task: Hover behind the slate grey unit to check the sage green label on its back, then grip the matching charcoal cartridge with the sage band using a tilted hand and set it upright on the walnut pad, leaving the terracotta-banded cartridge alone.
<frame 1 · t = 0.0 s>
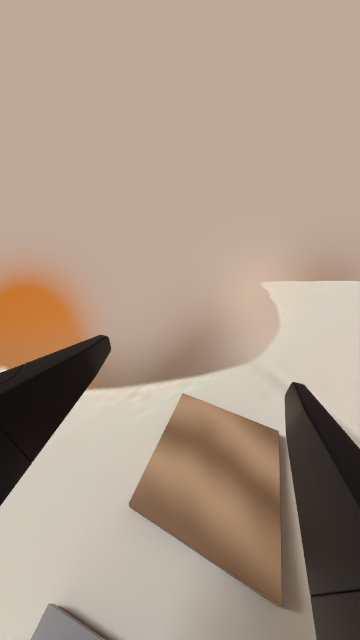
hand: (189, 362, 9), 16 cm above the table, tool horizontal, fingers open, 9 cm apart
walnut pad: (213, 466, 19), on the table
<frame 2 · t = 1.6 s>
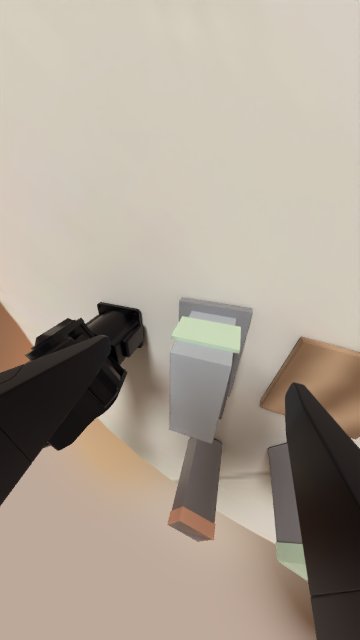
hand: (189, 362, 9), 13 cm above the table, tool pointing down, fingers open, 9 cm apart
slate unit: (208, 349, 25), on the table
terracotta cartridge: (204, 441, 37), on the table
walnut pad: (329, 389, 23), on the table
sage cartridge: (291, 453, 31), on the table
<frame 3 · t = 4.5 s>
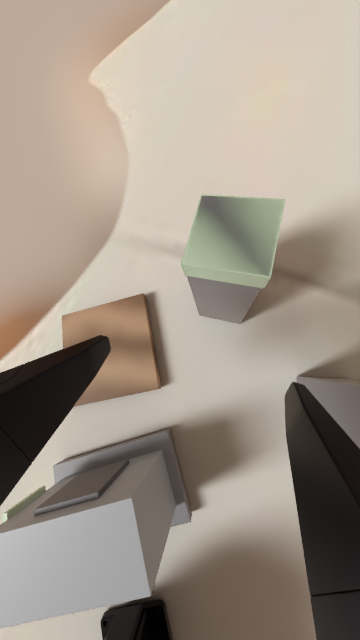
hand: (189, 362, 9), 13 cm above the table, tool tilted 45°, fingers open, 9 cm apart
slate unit: (120, 485, 21), on the table
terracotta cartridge: (326, 403, 19), on the table
walnut pad: (109, 349, 25), on the table
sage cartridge: (223, 300, 23), on the table
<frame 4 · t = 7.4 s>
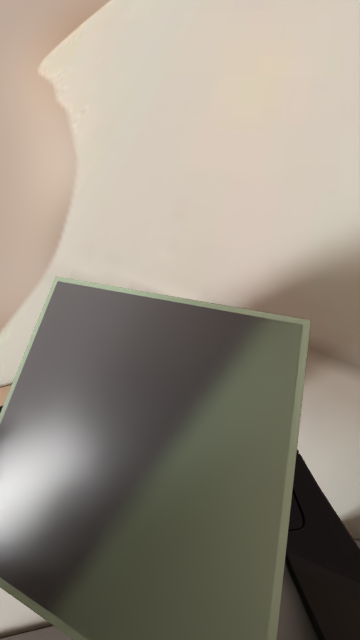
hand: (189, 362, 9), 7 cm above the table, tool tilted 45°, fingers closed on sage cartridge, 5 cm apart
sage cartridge: (196, 381, 15), on the table, touching gripper
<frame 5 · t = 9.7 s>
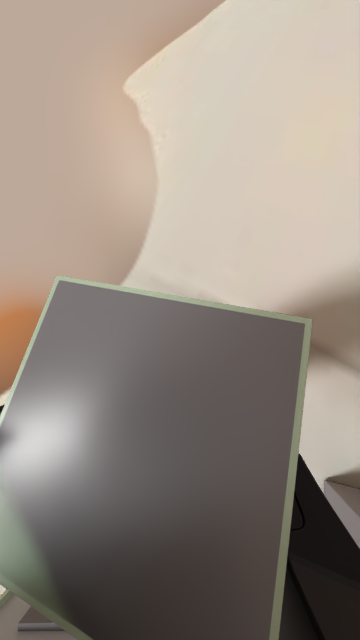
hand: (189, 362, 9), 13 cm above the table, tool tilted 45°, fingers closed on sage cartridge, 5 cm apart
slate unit: (114, 565, 19), on the table
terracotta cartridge: (356, 520, 16), on the table
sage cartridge: (196, 381, 15), point 7 cm above the table, touching gripper
when the fingers open (9 cm above the table, at t = 12.1 s): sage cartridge drops 1 cm, resting on walnut pad.
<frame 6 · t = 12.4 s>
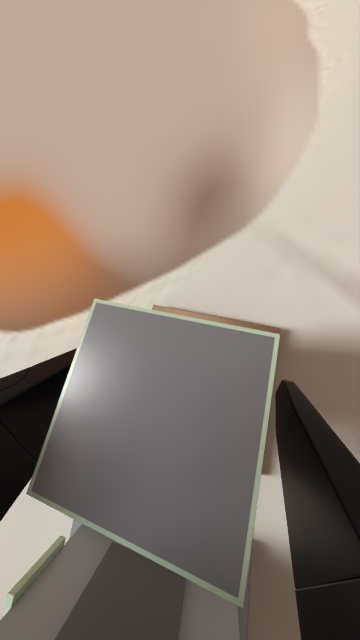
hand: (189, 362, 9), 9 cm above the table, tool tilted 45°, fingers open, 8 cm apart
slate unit: (151, 574, 15), on the table
walnut pad: (198, 379, 17), on the table
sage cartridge: (197, 380, 16), point 1 cm above the table, touching walnut pad
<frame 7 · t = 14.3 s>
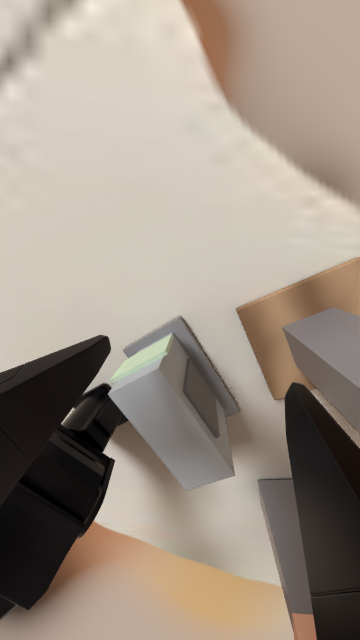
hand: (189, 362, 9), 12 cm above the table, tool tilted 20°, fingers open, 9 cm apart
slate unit: (182, 376, 24), on the table
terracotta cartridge: (276, 491, 28), on the table
walnut pad: (308, 334, 20), on the table
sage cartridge: (313, 338, 19), point 1 cm above the table, touching walnut pad
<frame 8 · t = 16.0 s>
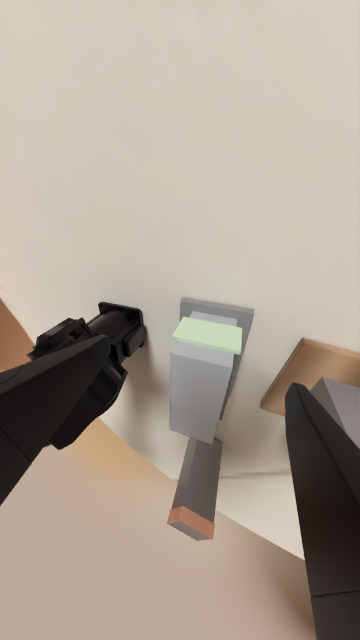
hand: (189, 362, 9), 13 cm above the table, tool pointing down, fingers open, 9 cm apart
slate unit: (209, 349, 25), on the table
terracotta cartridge: (204, 441, 37), on the table
walnut pad: (330, 390, 23), on the table
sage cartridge: (333, 397, 22), point 1 cm above the table, touching walnut pad
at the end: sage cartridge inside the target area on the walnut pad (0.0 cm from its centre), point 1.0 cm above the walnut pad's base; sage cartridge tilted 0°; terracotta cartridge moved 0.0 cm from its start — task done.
